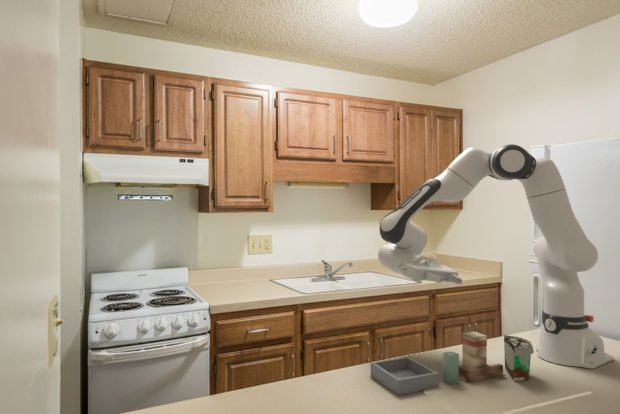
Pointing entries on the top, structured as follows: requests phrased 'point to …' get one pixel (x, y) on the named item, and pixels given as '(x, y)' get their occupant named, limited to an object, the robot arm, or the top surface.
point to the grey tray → (404, 375)
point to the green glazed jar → (451, 368)
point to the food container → (517, 357)
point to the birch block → (474, 350)
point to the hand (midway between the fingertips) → (450, 281)
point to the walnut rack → (480, 373)
